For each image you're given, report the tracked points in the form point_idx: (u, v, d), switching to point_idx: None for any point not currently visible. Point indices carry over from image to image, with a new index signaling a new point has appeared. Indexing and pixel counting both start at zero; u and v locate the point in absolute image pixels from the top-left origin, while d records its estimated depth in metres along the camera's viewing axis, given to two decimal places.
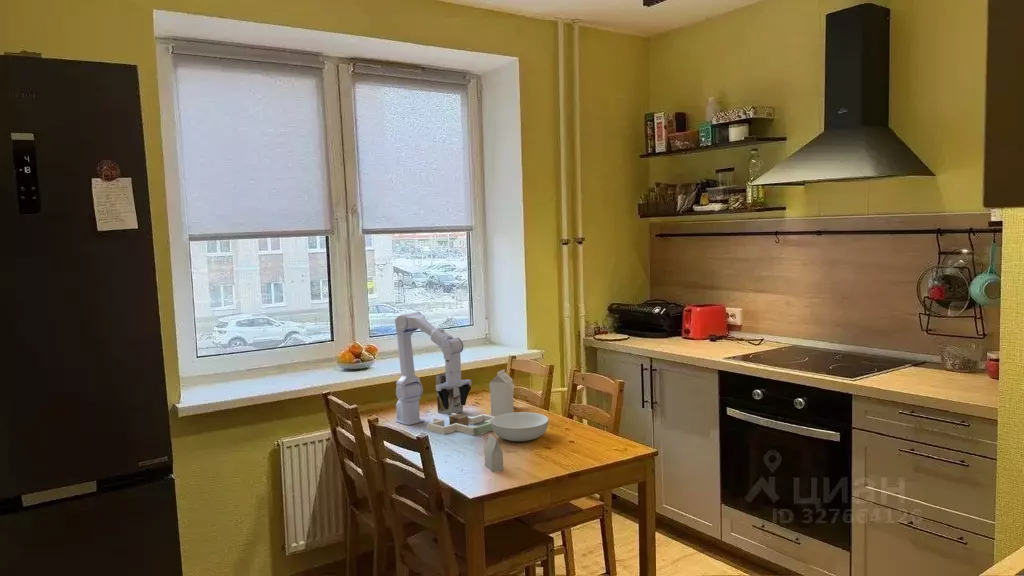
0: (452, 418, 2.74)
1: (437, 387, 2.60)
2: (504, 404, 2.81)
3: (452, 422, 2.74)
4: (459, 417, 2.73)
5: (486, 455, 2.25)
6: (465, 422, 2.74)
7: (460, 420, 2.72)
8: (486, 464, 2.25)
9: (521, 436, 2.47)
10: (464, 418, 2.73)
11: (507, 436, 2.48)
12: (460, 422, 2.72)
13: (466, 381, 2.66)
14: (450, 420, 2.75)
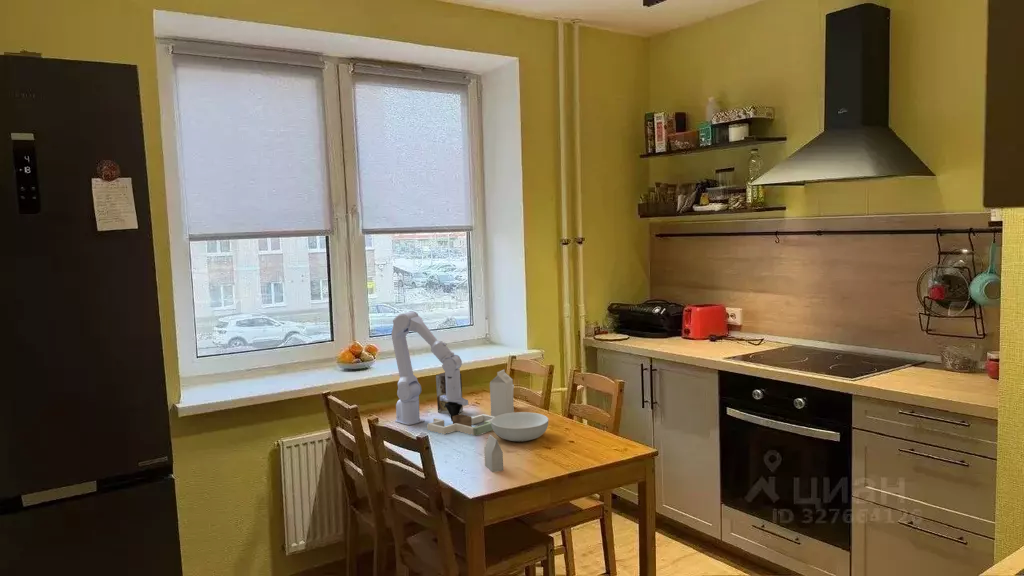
0: (455, 418, 2.73)
1: None
2: (504, 404, 2.81)
3: (455, 422, 2.73)
4: (462, 417, 2.72)
5: (486, 455, 2.25)
6: (468, 422, 2.72)
7: (463, 420, 2.70)
8: (486, 464, 2.25)
9: (521, 436, 2.47)
10: (467, 418, 2.72)
11: (507, 436, 2.48)
12: (463, 422, 2.70)
13: (458, 400, 2.72)
14: (453, 420, 2.74)
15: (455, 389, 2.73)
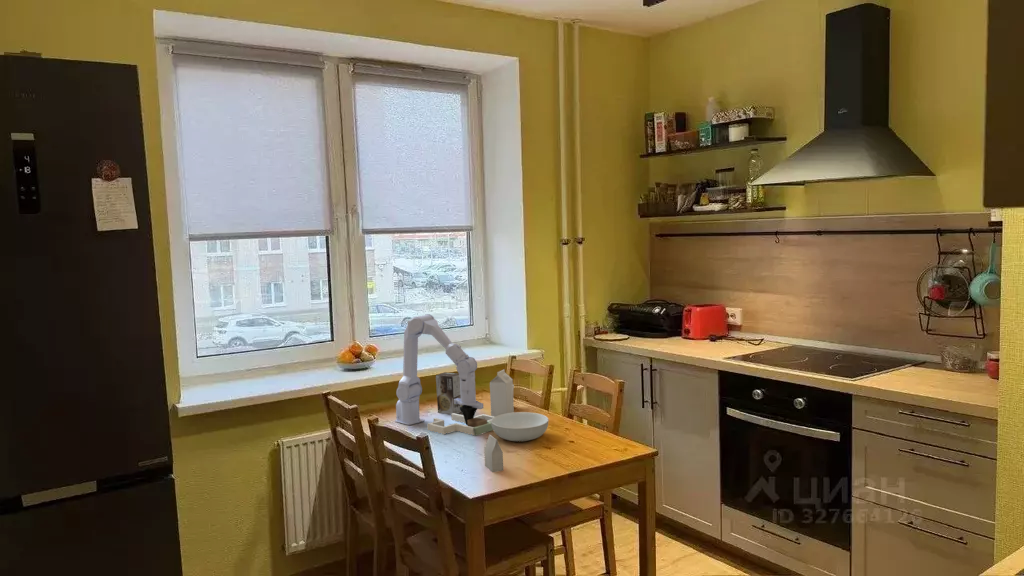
0: (470, 422, 2.67)
1: None
2: (504, 404, 2.81)
3: (470, 426, 2.67)
4: (478, 421, 2.66)
5: (486, 455, 2.25)
6: None
7: (479, 423, 2.65)
8: (486, 464, 2.25)
9: (521, 436, 2.47)
10: (483, 422, 2.66)
11: (507, 436, 2.48)
12: None
13: (473, 403, 2.66)
14: (468, 424, 2.68)
15: (470, 392, 2.67)
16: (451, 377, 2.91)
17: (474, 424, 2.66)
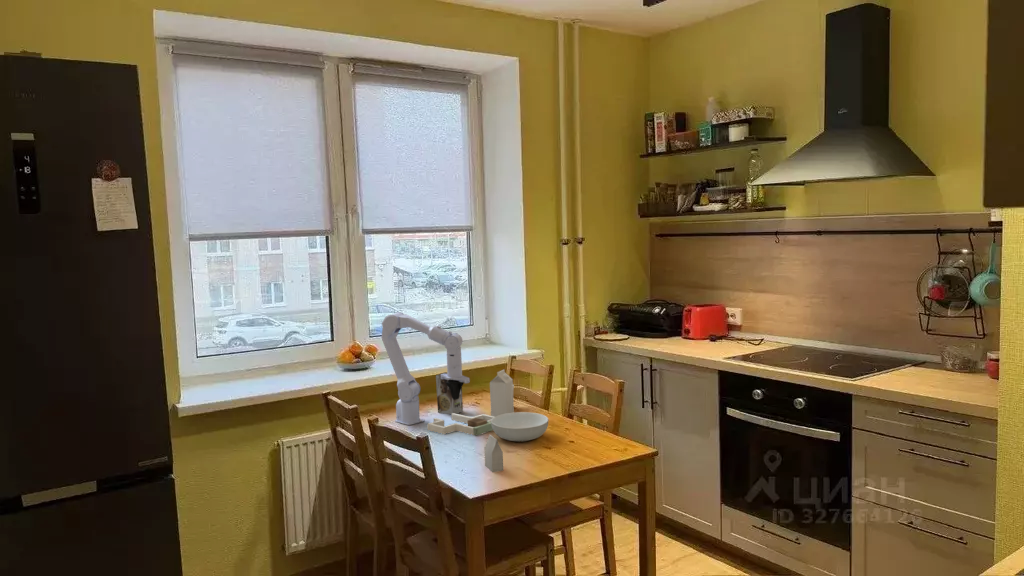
0: (470, 422, 2.67)
1: None
2: (504, 404, 2.81)
3: (470, 426, 2.67)
4: (478, 421, 2.66)
5: (486, 455, 2.25)
6: None
7: (479, 424, 2.65)
8: (486, 464, 2.25)
9: (521, 436, 2.47)
10: (483, 422, 2.66)
11: (507, 436, 2.48)
12: None
13: (460, 378, 2.74)
14: (468, 424, 2.68)
15: (456, 367, 2.75)
16: None
17: (474, 424, 2.66)
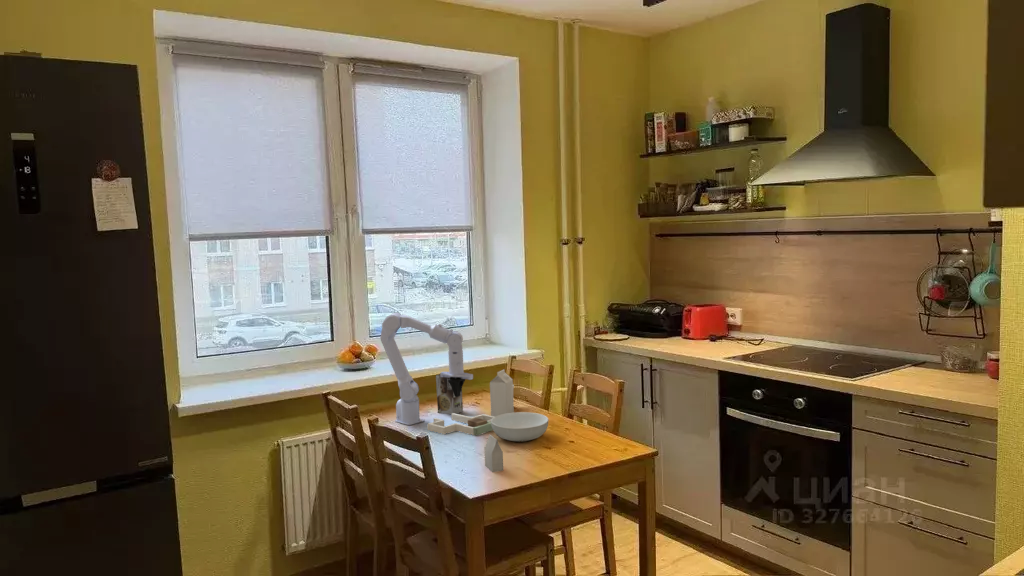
0: (470, 422, 2.67)
1: None
2: (504, 404, 2.81)
3: (470, 426, 2.67)
4: (477, 421, 2.66)
5: (486, 455, 2.25)
6: None
7: (478, 424, 2.65)
8: (486, 464, 2.25)
9: (521, 436, 2.47)
10: (483, 422, 2.66)
11: (507, 436, 2.48)
12: None
13: (463, 375, 2.78)
14: (468, 424, 2.68)
15: (459, 364, 2.79)
16: None
17: (474, 424, 2.66)
